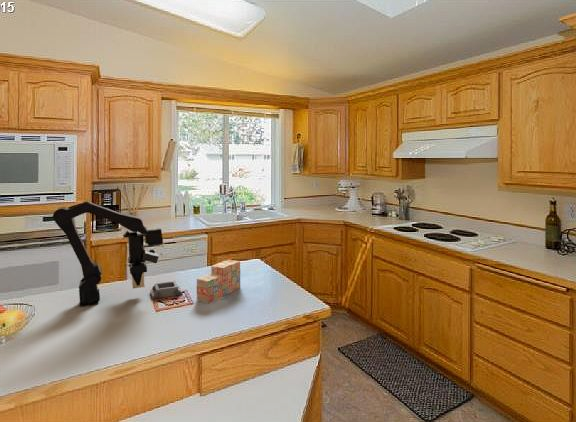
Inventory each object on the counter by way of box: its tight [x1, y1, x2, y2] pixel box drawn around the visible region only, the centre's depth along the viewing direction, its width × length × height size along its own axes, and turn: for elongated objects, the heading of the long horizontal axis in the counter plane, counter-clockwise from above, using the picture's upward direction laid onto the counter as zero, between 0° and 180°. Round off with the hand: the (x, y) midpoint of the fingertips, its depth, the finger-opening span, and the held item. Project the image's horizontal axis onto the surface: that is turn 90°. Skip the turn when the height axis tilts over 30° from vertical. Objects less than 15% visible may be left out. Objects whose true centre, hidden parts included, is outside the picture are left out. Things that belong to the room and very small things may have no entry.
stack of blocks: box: [196, 259, 241, 304], centre depth 155 cm, size 21×6×12 cm, turn 151°
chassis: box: [150, 280, 183, 300], centre depth 155 cm, size 12×10×4 cm
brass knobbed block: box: [131, 272, 146, 289], centre depth 151 cm, size 4×4×7 cm
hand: (138, 283), depth 152 cm, fingers closed on brass knobbed block, 4 cm apart
